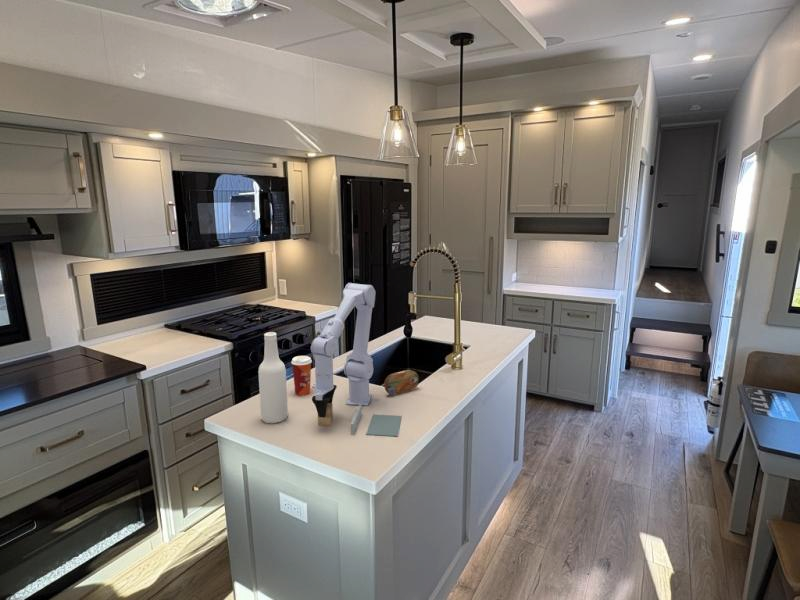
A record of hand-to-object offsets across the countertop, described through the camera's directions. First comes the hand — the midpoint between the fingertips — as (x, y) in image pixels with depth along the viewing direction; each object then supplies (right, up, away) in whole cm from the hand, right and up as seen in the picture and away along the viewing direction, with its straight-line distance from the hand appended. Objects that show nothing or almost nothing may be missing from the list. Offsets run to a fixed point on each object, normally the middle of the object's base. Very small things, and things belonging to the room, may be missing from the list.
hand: (325, 411), depth 150 cm
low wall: (+10, -4, 0) cm, 11 cm away
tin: (+26, +1, +26) cm, 37 cm away
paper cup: (-13, +1, +25) cm, 28 cm away
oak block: (0, -4, +1) cm, 4 cm away
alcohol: (-18, -3, +3) cm, 18 cm away
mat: (+20, -4, -1) cm, 20 cm away
